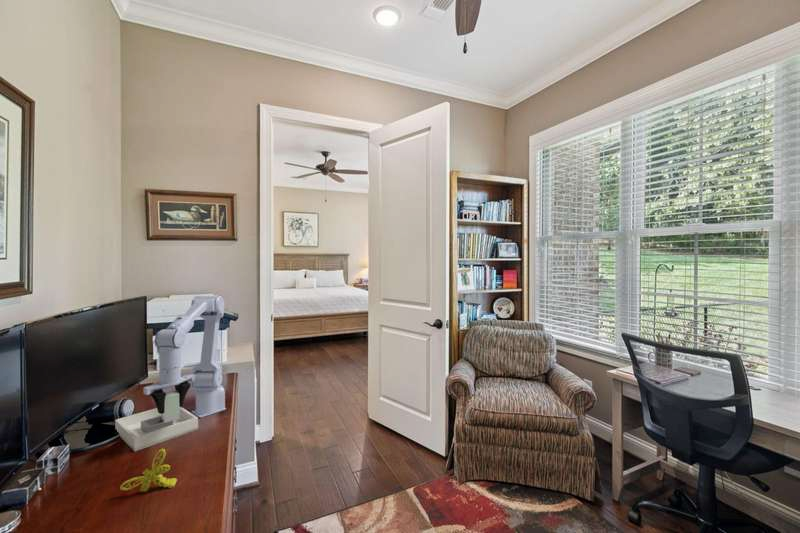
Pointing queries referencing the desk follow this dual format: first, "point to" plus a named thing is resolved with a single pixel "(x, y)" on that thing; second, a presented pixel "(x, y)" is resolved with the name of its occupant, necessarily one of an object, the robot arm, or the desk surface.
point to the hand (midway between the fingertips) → (170, 409)
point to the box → (153, 428)
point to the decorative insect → (155, 478)
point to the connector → (171, 407)
